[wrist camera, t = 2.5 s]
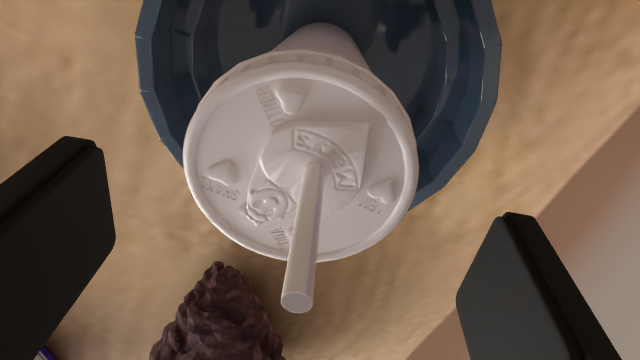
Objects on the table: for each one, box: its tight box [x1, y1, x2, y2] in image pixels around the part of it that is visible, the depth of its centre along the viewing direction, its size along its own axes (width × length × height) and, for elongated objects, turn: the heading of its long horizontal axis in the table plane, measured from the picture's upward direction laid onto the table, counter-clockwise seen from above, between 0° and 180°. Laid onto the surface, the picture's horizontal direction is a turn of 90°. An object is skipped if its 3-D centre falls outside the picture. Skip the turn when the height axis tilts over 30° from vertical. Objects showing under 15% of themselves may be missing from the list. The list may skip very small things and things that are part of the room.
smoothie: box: [183, 22, 419, 313], centre depth 13 cm, size 6×6×14 cm
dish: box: [135, 0, 502, 211], centre depth 17 cm, size 14×14×4 cm
